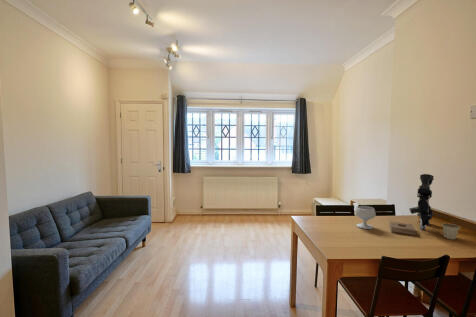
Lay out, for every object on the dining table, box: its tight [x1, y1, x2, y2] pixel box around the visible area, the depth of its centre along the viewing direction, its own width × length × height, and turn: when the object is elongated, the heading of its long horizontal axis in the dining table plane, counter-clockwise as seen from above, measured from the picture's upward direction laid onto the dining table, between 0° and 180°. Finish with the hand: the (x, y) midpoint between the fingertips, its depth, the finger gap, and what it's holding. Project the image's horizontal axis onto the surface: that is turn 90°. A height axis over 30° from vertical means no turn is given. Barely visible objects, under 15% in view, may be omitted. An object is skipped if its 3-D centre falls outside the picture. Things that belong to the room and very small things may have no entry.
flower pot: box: [441, 222, 461, 240], centre depth 163 cm, size 9×9×9 cm
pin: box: [419, 218, 427, 231], centre depth 179 cm, size 3×3×9 cm
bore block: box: [389, 220, 417, 237], centre depth 177 cm, size 14×14×4 cm
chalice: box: [354, 205, 377, 230], centre depth 186 cm, size 14×14×15 cm
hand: (422, 225), depth 179 cm, fingers closed on pin, 3 cm apart
